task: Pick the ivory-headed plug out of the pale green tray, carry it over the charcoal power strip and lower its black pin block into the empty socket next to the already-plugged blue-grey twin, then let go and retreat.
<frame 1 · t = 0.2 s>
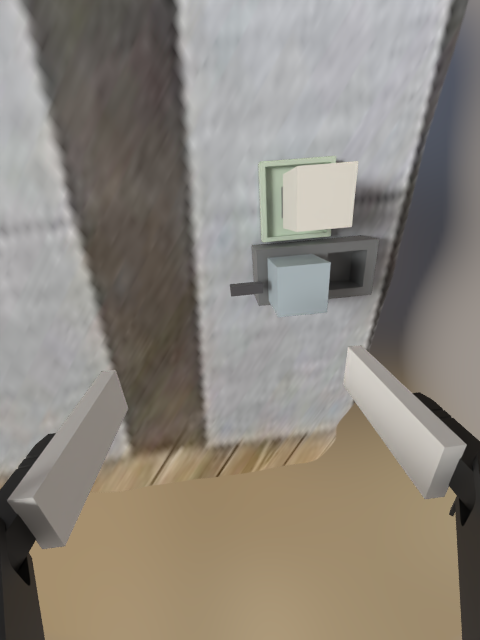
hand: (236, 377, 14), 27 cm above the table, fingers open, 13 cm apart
strip: (305, 266, 40), on the table
tray: (294, 201, 36), on the table
plug: (295, 201, 35), point 1 cm above the table, touching tray
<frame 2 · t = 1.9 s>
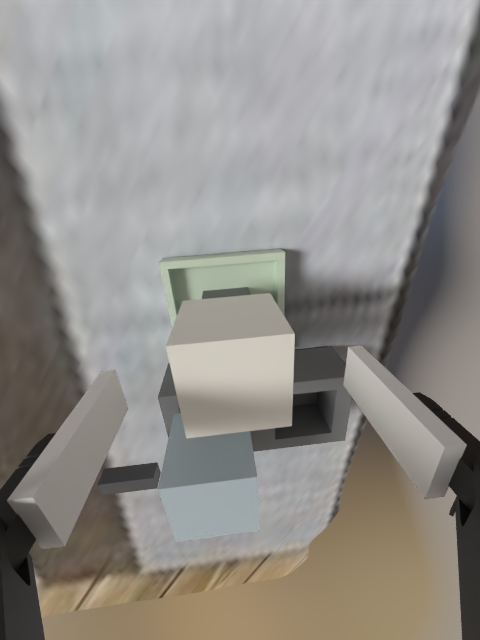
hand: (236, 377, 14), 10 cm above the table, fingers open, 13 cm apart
strip: (252, 385, 27), on the table
tray: (227, 307, 23), on the table
plug: (227, 309, 23), point 1 cm above the table, touching tray
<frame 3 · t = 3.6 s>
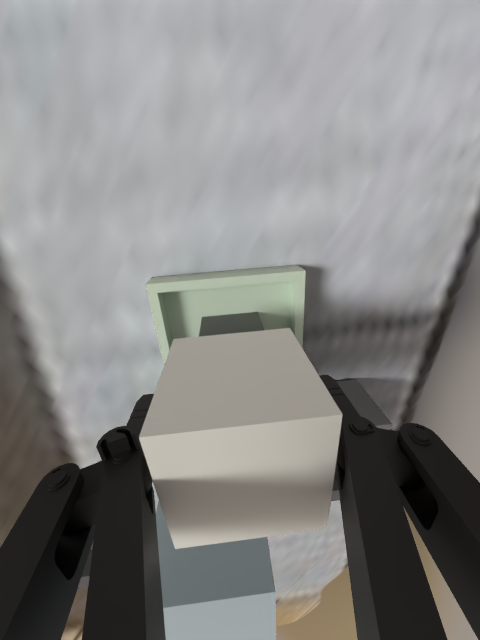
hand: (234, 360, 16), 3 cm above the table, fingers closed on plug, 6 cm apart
strip: (261, 423, 23), on the table
tray: (231, 335, 19), on the table
plug: (232, 338, 18), point 1 cm above the table, touching gripper, tray
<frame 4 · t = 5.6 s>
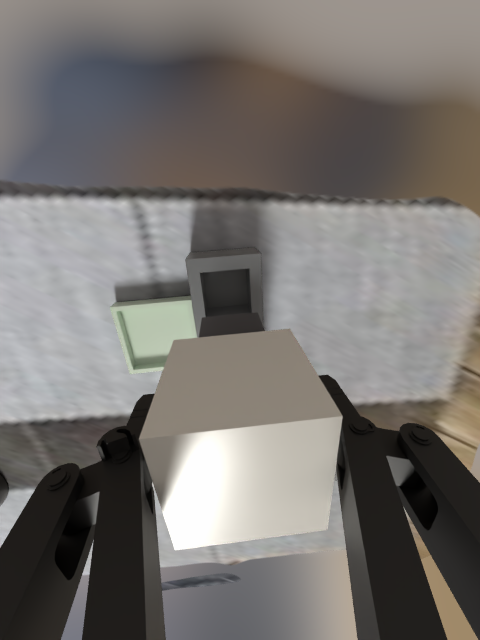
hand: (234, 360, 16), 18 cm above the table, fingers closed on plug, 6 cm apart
strip: (228, 313, 34), on the table
tray: (161, 332, 34), on the table
plug: (232, 339, 18), point 15 cm above the table, touching gripper
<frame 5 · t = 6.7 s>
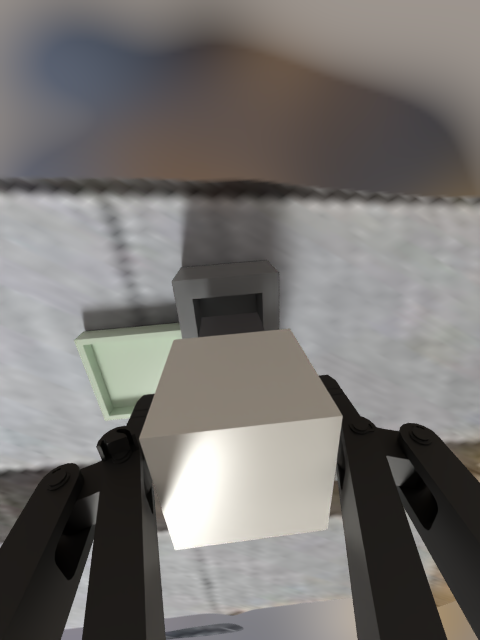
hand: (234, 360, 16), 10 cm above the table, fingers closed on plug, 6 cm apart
strip: (231, 343, 26), on the table
tray: (145, 368, 27), on the table
plug: (232, 339, 18), point 7 cm above the table, touching gripper
when the fingers open (6 cm above the table, at t = 7.8 s): plug drops 2 cm, resting on strip.
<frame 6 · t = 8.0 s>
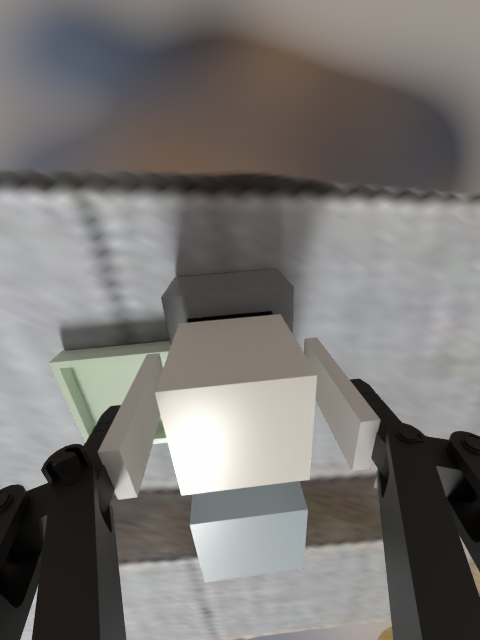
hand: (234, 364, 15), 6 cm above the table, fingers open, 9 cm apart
strip: (234, 363, 23), on the table
tray: (135, 391, 23), on the table
plug: (230, 327, 20), point 1 cm above the table, touching strip
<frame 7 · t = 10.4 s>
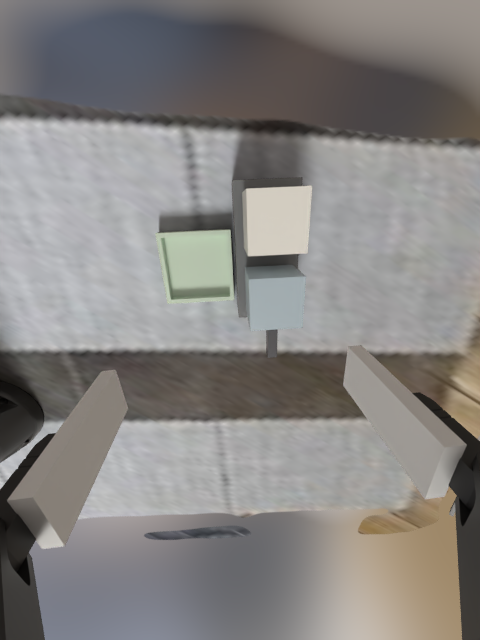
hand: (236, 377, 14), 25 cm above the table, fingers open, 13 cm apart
strip: (262, 249, 36), on the table
tray: (198, 266, 37), on the table
plug: (262, 218, 34), point 1 cm above the table, touching strip
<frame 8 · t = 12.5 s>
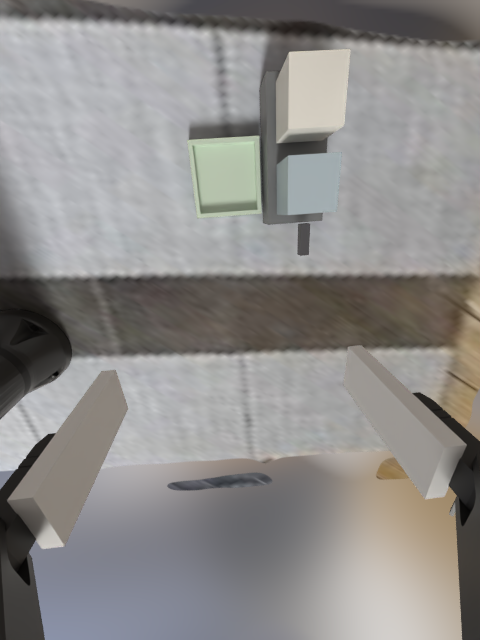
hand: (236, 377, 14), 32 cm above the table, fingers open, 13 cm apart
strip: (287, 161, 38), on the table
tray: (226, 180, 38), on the table
plug: (289, 125, 35), point 1 cm above the table, touching strip
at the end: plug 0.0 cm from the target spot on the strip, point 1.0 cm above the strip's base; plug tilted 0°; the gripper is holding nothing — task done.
